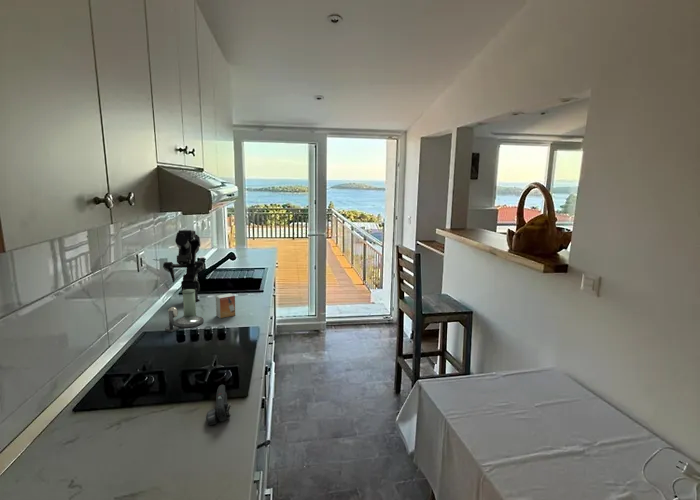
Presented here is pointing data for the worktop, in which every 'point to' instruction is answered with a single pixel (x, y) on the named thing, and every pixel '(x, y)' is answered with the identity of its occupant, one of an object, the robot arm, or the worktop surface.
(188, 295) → the canister
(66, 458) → the worktop surface
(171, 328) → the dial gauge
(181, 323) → the platter
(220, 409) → the can opener
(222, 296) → the small box
